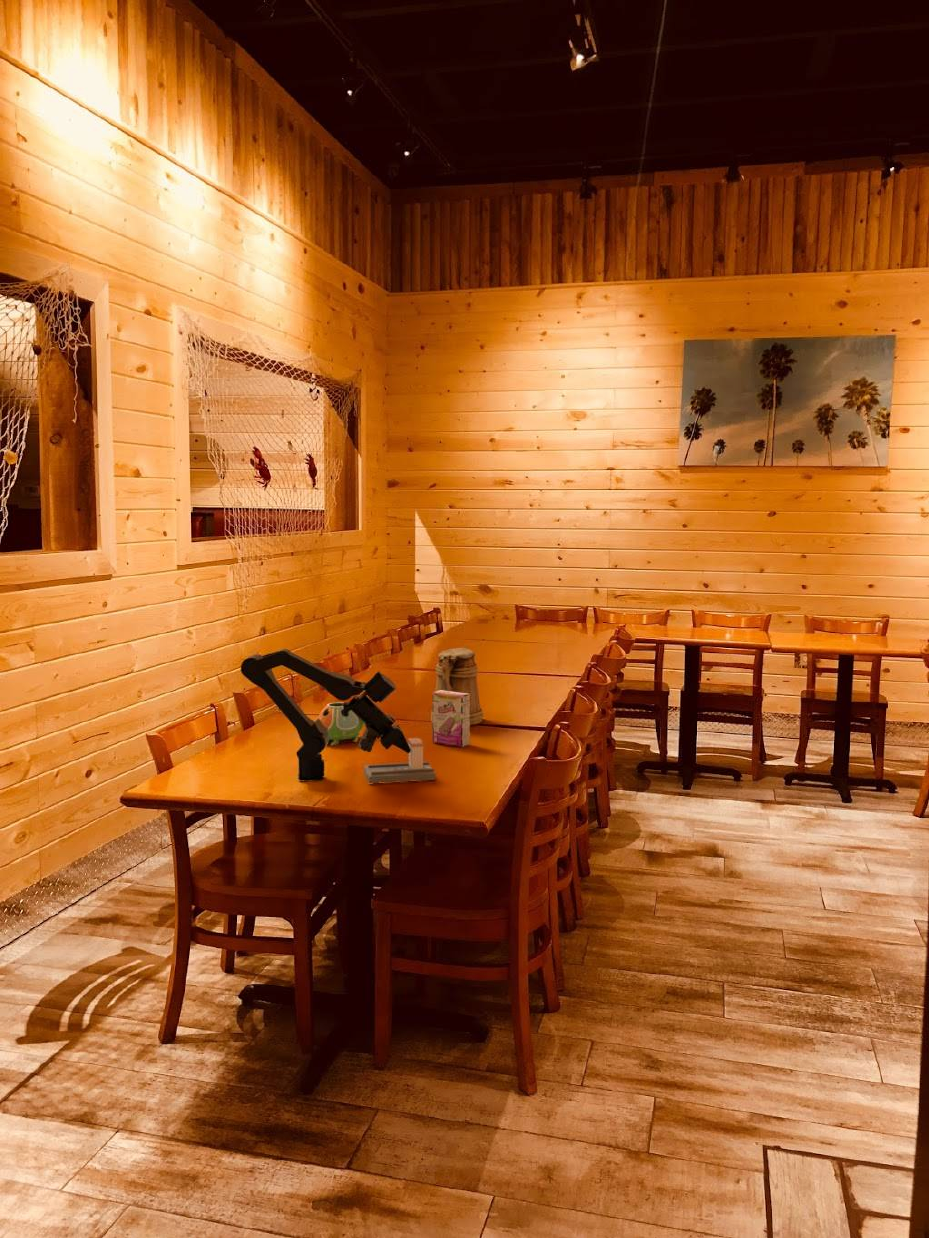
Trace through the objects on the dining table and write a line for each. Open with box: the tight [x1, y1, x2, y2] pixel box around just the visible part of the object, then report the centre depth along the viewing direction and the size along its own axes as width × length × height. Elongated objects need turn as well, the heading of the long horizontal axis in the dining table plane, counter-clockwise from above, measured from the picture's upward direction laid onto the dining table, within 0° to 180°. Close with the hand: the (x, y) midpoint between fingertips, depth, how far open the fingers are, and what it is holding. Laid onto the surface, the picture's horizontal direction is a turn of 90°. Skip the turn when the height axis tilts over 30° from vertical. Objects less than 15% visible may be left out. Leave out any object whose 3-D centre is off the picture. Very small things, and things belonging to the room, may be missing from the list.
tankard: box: [430, 647, 484, 727], centre depth 334 cm, size 18×24×25 cm
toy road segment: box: [363, 761, 436, 783], centre depth 269 cm, size 18×12×3 cm, turn 102°
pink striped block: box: [408, 737, 424, 770], centre depth 270 cm, size 3×6×8 cm, turn 12°
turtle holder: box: [317, 701, 365, 747], centre depth 310 cm, size 12×18×12 cm
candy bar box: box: [432, 690, 471, 748], centre depth 305 cm, size 11×5×16 cm, turn 59°
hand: (409, 751), depth 269 cm, fingers closed
